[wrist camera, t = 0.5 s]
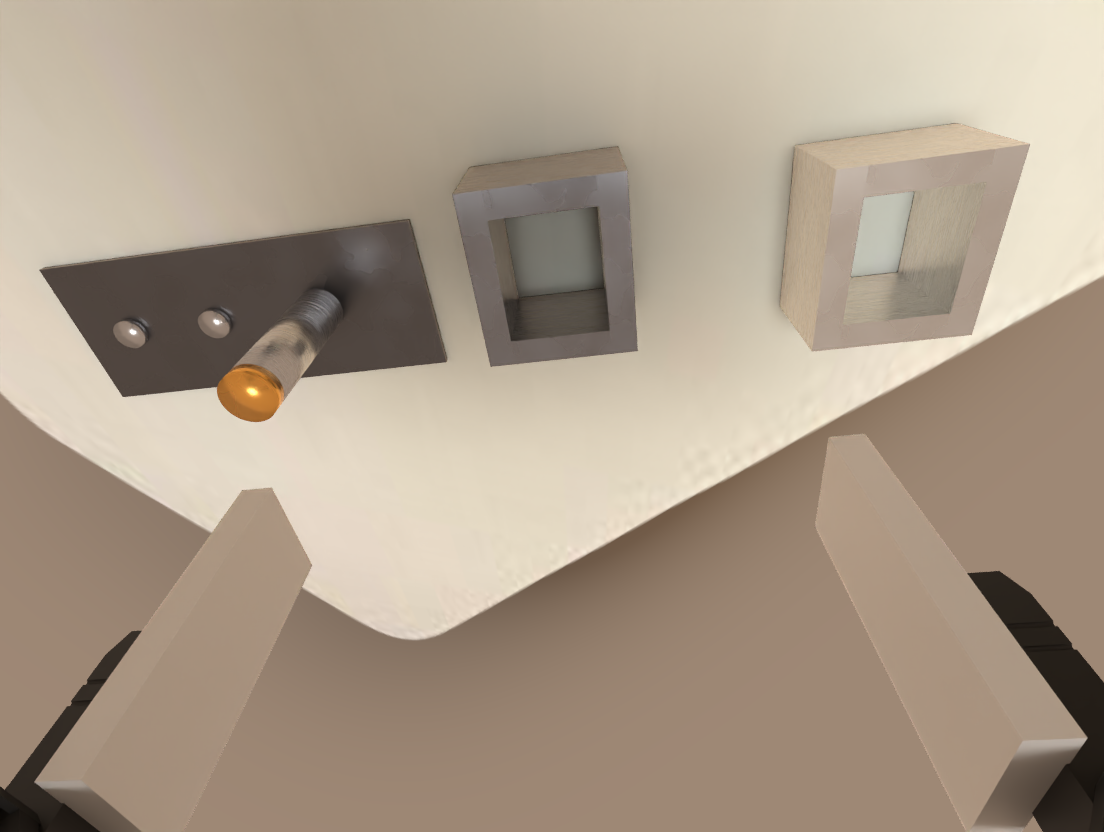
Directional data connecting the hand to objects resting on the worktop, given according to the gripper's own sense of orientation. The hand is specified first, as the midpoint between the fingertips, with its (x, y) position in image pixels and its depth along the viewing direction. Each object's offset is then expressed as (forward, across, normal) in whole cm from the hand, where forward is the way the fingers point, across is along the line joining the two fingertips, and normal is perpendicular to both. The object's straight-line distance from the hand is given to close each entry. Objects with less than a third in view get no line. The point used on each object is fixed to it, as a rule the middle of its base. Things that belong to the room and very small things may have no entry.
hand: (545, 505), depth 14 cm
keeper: (+19, -17, -1) cm, 25 cm away
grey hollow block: (+19, 0, +1) cm, 19 cm away
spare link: (+19, +15, 0) cm, 24 cm away
